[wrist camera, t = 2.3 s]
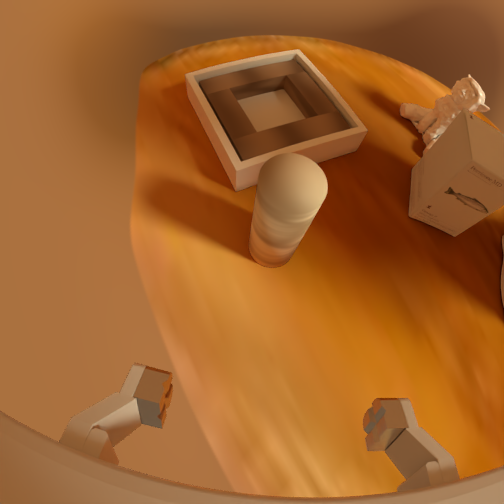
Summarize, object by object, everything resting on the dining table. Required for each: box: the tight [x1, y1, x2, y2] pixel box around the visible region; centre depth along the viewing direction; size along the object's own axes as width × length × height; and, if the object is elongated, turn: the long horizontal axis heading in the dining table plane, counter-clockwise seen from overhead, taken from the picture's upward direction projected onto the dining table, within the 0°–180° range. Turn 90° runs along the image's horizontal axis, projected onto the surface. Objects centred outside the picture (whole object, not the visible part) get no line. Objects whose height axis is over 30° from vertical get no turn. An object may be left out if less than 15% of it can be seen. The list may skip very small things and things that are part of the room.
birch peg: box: [249, 153, 328, 268], centre depth 25 cm, size 4×4×12 cm
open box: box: [185, 49, 368, 192], centre depth 34 cm, size 16×16×4 cm
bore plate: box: [199, 60, 351, 162], centre depth 34 cm, size 13×13×2 cm
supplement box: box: [409, 109, 504, 237], centre depth 28 cm, size 7×7×13 cm
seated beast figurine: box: [400, 74, 490, 156], centre depth 32 cm, size 10×9×12 cm
